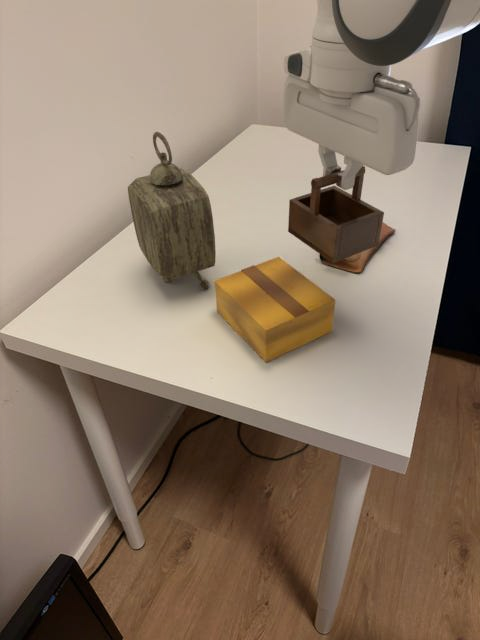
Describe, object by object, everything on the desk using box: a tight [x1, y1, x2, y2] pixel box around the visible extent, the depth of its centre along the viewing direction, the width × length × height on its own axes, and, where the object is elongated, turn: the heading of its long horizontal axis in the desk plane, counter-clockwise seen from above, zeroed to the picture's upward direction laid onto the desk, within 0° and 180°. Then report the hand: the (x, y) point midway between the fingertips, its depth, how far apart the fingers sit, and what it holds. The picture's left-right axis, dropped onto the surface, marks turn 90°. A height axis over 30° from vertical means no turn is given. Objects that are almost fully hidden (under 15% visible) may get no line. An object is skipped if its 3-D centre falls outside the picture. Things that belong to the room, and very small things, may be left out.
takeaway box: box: [214, 256, 336, 363], centre depth 73 cm, size 14×12×6 cm
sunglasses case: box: [318, 221, 396, 274], centre depth 90 cm, size 18×7×7 cm, turn 147°
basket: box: [287, 165, 385, 263], centre depth 65 cm, size 10×8×10 cm
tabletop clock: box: [127, 131, 216, 290], centre depth 77 cm, size 14×9×25 cm, turn 27°
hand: (337, 183), depth 63 cm, fingers closed on basket
